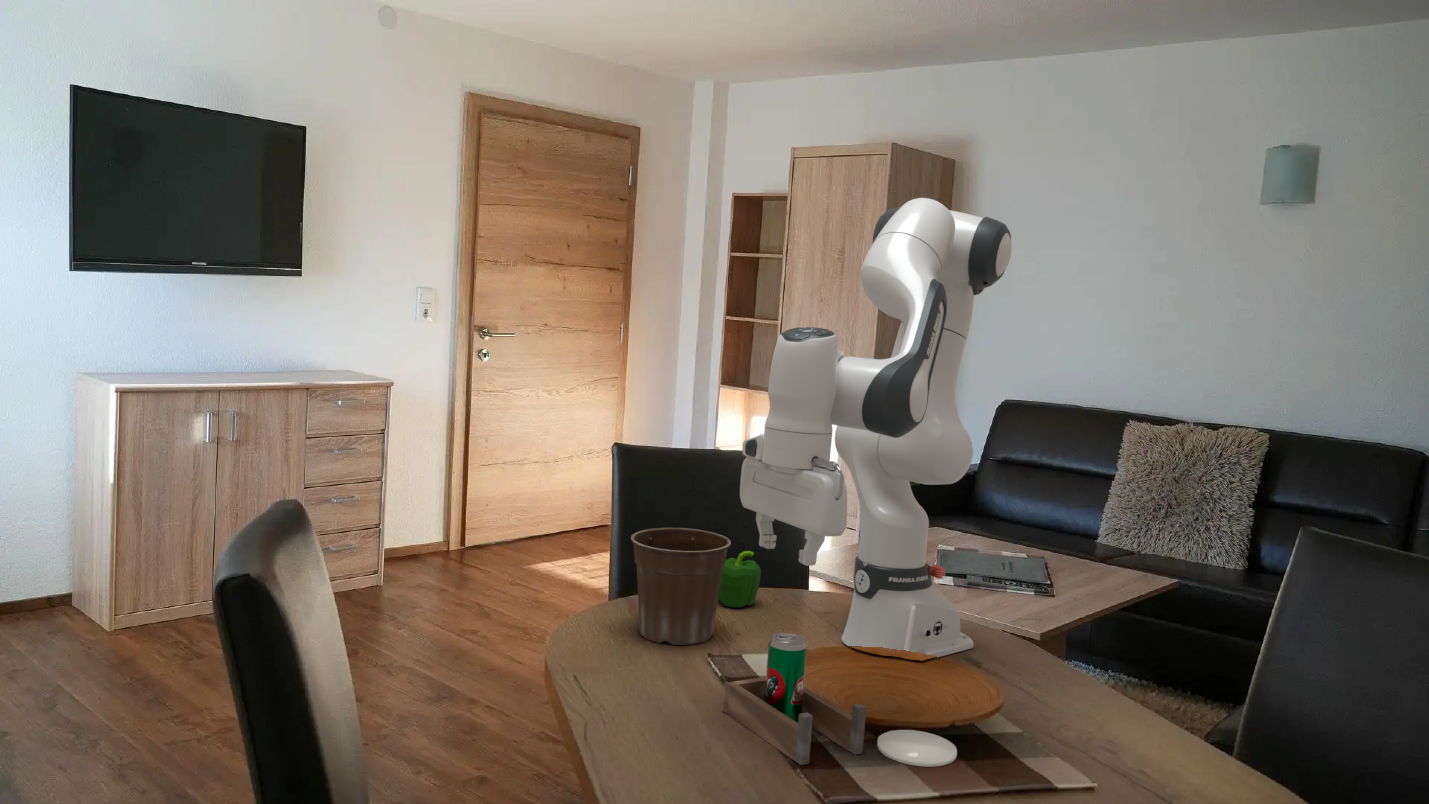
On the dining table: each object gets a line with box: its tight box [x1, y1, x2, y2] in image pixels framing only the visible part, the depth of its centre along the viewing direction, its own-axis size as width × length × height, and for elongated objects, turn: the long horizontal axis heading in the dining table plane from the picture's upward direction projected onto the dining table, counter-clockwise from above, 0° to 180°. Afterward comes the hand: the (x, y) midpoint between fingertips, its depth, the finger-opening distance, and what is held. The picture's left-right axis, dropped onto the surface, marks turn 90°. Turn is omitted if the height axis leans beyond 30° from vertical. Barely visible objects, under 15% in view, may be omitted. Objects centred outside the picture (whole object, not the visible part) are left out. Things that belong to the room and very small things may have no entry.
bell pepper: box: [718, 550, 762, 609], centre depth 202 cm, size 8×8×10 cm
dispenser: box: [722, 676, 867, 766], centre depth 145 cm, size 9×18×6 cm, turn 30°
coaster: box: [876, 729, 958, 768], centre depth 142 cm, size 10×10×1 cm
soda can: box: [764, 632, 808, 723], centre depth 146 cm, size 5×5×12 cm
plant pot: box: [630, 527, 732, 646], centre depth 182 cm, size 16×16×16 cm
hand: (786, 555), depth 146 cm, fingers open, 8 cm apart
